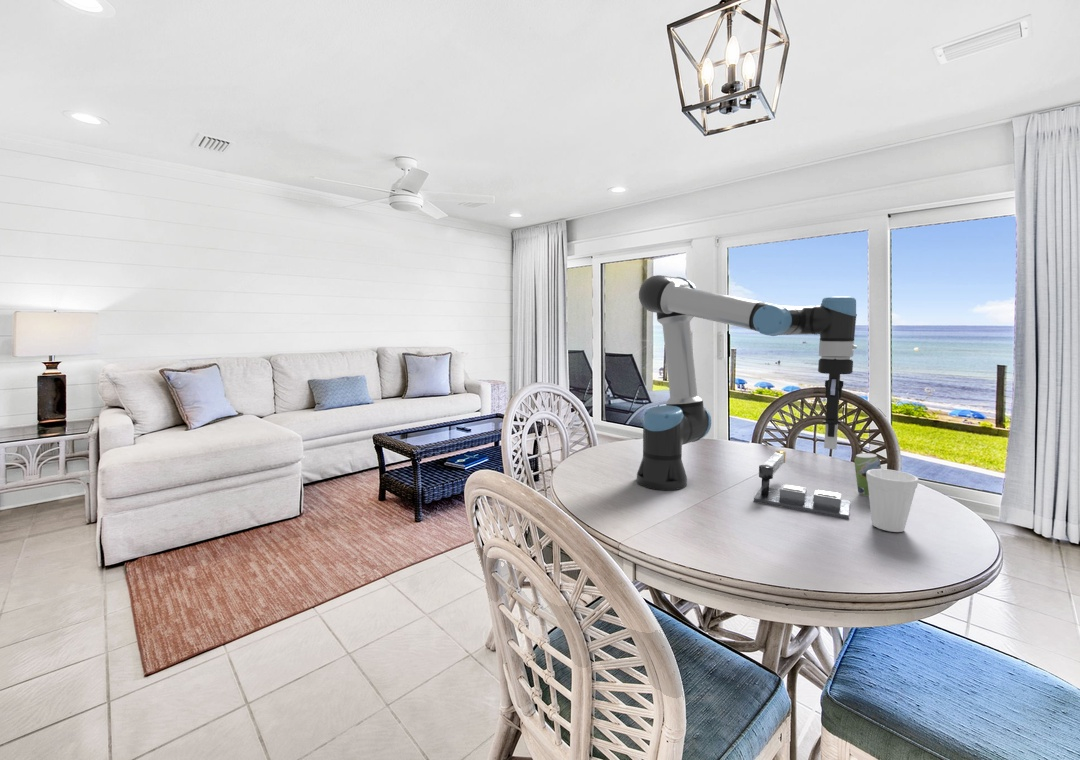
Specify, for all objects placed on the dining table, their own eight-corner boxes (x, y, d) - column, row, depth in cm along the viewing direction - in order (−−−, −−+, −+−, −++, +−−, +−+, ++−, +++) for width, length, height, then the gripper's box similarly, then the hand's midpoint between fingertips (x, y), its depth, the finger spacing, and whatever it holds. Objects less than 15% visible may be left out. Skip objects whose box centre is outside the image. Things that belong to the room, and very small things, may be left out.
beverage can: (887, 500, 131) (890, 457, 130) (858, 498, 133) (861, 456, 132) (876, 492, 138) (879, 452, 136) (848, 490, 139) (851, 450, 138)
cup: (917, 540, 106) (922, 484, 105) (863, 531, 112) (867, 477, 110) (911, 525, 115) (915, 472, 113) (861, 516, 120) (865, 466, 119)
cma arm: (771, 480, 131) (771, 469, 130) (757, 477, 133) (757, 466, 133) (787, 461, 149) (787, 451, 148) (774, 459, 151) (775, 449, 150)
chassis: (753, 501, 131) (754, 481, 130) (761, 489, 141) (762, 470, 140) (848, 519, 119) (850, 497, 118) (849, 504, 128) (851, 483, 128)
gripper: (852, 359, 114) (846, 455, 116) (853, 357, 124) (848, 445, 127) (816, 358, 118) (811, 451, 120) (820, 356, 129) (815, 441, 131)
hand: (830, 448), depth 124 cm, fingers closed
